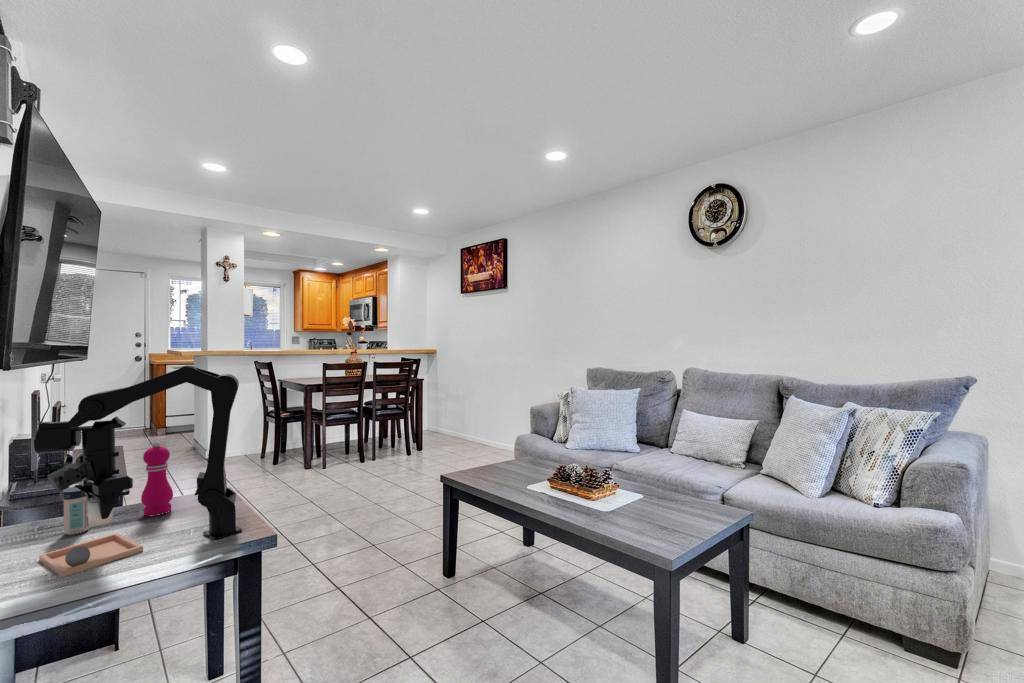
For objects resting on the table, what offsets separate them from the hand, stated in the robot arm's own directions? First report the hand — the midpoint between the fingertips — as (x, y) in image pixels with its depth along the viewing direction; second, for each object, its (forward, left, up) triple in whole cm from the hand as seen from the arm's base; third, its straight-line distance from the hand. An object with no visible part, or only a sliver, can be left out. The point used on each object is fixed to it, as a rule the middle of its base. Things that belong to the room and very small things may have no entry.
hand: (100, 516), depth 111 cm
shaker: (0, 0, -1) cm, 1 cm away
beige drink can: (+20, -1, -9) cm, 21 cm away
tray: (-1, +2, -8) cm, 9 cm away
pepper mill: (+18, -18, -9) cm, 27 cm away
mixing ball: (-5, +6, -8) cm, 11 cm away
